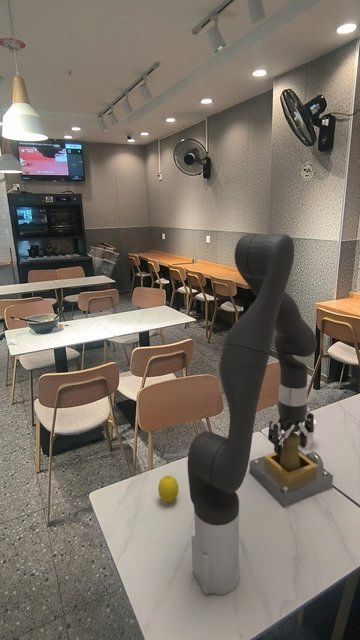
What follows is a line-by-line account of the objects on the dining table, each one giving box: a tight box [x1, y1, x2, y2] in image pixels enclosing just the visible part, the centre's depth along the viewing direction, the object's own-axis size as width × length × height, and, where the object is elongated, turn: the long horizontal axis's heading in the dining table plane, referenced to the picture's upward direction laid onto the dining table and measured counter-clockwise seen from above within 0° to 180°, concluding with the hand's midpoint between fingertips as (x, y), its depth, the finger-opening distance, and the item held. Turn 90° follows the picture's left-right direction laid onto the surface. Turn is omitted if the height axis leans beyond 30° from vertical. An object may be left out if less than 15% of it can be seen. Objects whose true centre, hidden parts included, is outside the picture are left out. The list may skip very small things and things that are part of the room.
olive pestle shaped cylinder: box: [279, 432, 300, 473], centre depth 105 cm, size 6×6×11 cm
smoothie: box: [297, 407, 317, 450], centre depth 122 cm, size 6×6×14 cm
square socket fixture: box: [248, 448, 334, 509], centre depth 107 cm, size 19×16×6 cm
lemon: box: [157, 474, 179, 503], centre depth 100 cm, size 6×6×8 cm
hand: (290, 450), depth 105 cm, fingers open, 8 cm apart
